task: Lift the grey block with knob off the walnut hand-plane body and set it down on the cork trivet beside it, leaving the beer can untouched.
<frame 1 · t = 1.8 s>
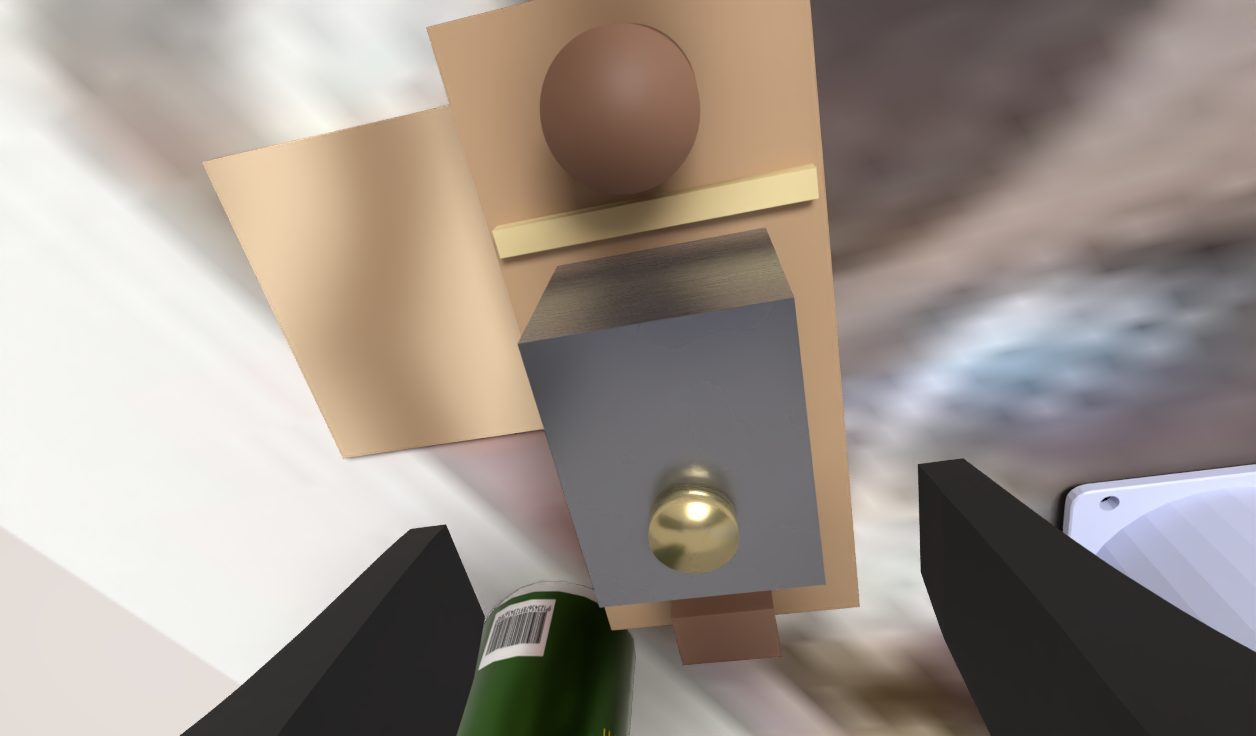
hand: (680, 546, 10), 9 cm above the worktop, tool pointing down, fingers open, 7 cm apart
beer can: (562, 626, 24), on the worktop
plane body: (683, 320, 18), on the worktop
cork trivet: (401, 299, 19), on the worktop
grey block with knob: (683, 371, 16), point 3 cm above the worktop, touching plane body
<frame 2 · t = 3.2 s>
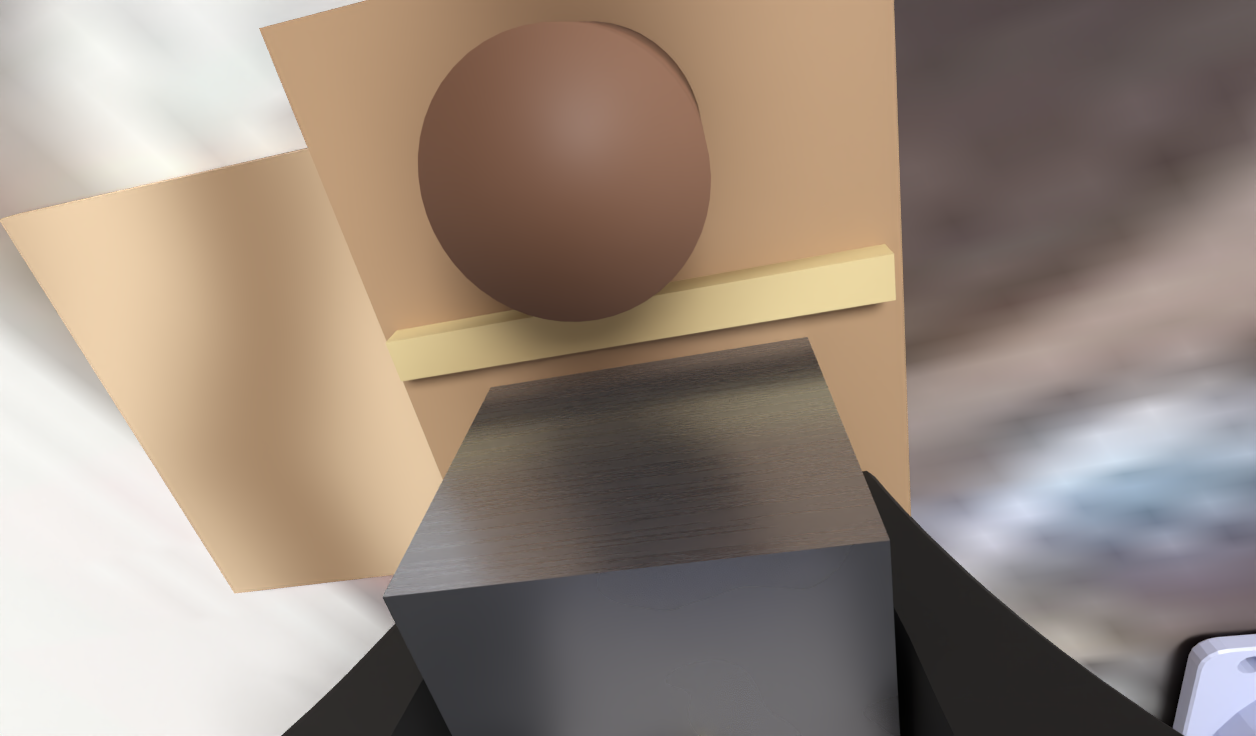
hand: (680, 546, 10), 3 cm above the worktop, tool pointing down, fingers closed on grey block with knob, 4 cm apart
plane body: (680, 428, 13), on the worktop
cork trivet: (296, 397, 14), on the worktop
grey block with knob: (680, 529, 11), point 3 cm above the worktop, touching gripper, plane body
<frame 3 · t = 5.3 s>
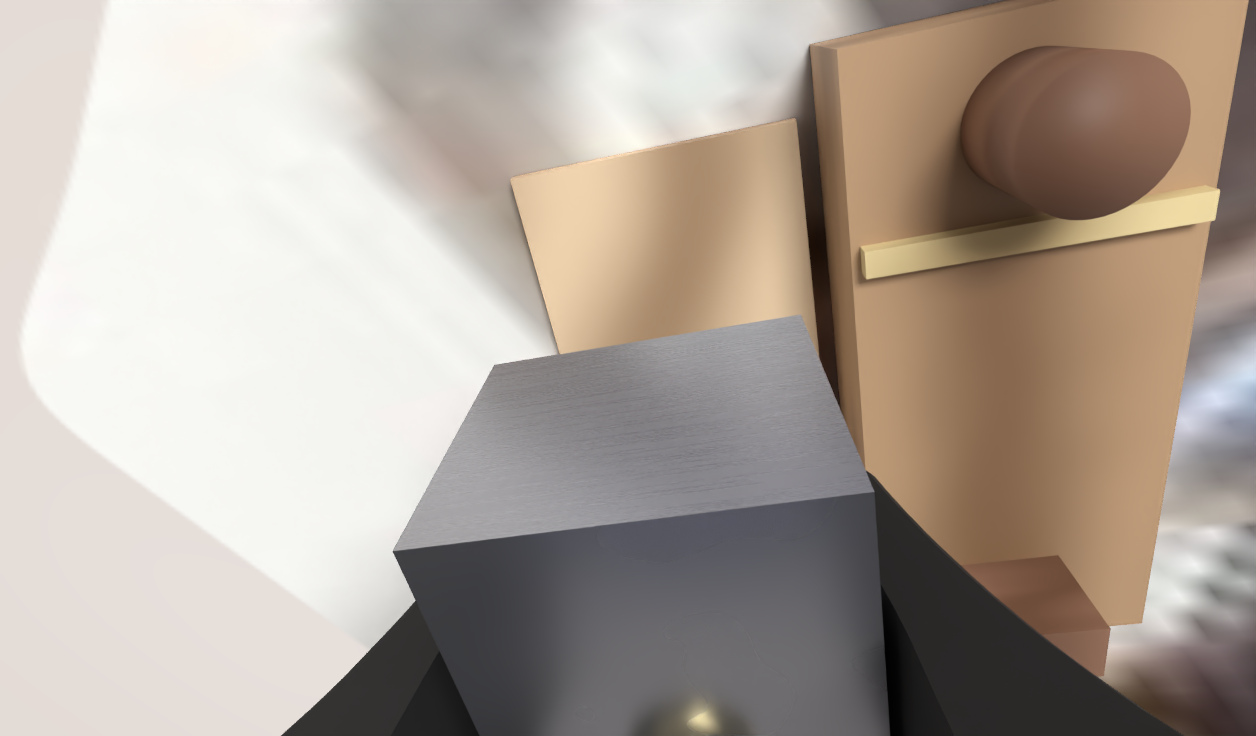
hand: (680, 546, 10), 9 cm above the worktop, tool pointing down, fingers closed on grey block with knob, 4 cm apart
plane body: (968, 336, 18), on the worktop
cork trivet: (681, 315, 19), on the worktop
grey block with knob: (678, 505, 11), point 8 cm above the worktop, touching gripper
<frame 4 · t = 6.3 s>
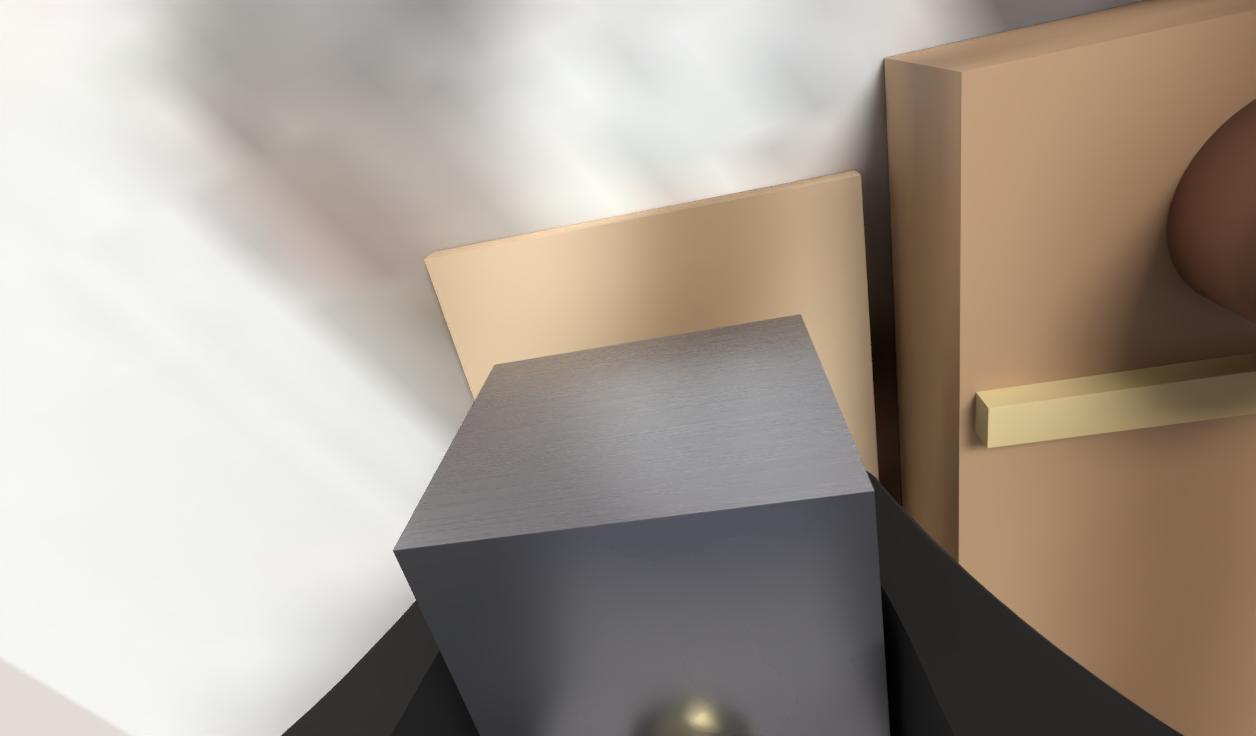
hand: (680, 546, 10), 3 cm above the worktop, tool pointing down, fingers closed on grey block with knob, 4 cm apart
plane body: (1096, 476, 13), on the worktop
cork trivet: (681, 443, 13), on the worktop
grey block with knob: (678, 505, 11), point 2 cm above the worktop, touching gripper
when the fingers open (3 cm above the worktop, at t = 7.2 s): grey block with knob drops 1 cm, resting on cork trivet.
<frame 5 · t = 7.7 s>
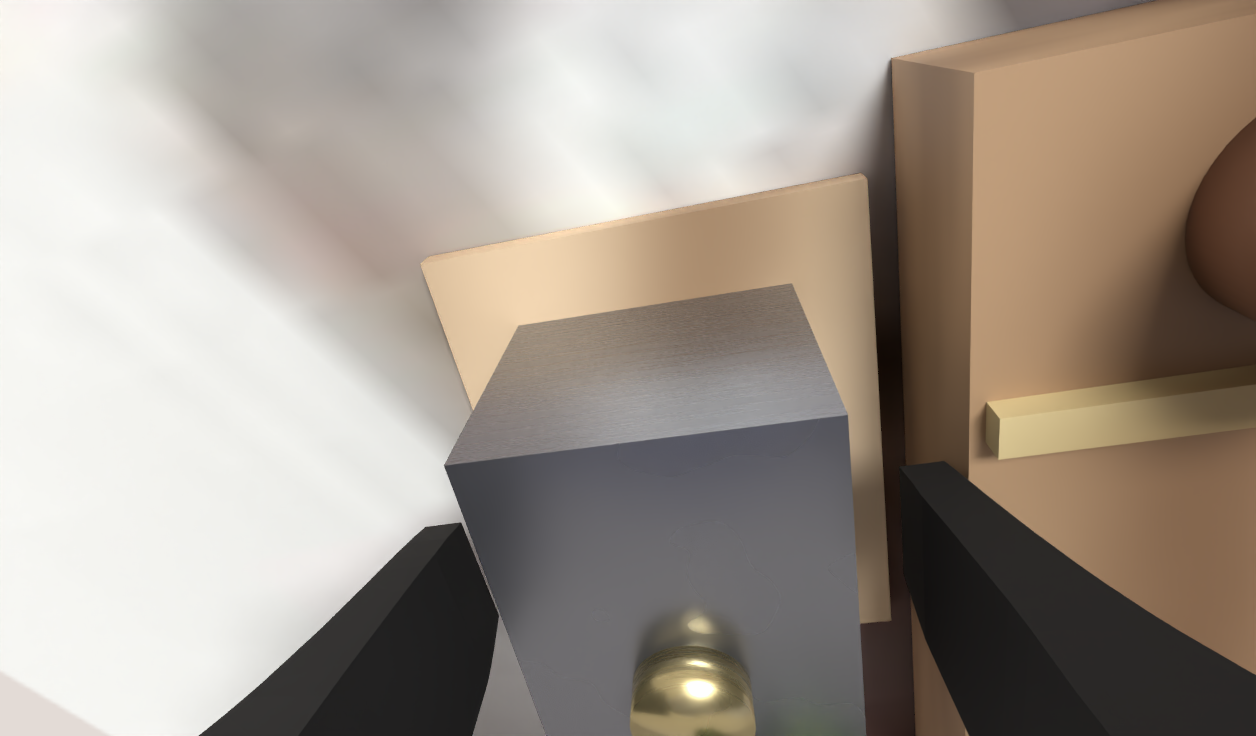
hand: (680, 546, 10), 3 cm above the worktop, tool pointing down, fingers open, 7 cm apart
plane body: (1106, 484, 12), on the worktop
cork trivet: (682, 450, 13), on the worktop
grey block with knob: (680, 457, 12), resting on cork trivet
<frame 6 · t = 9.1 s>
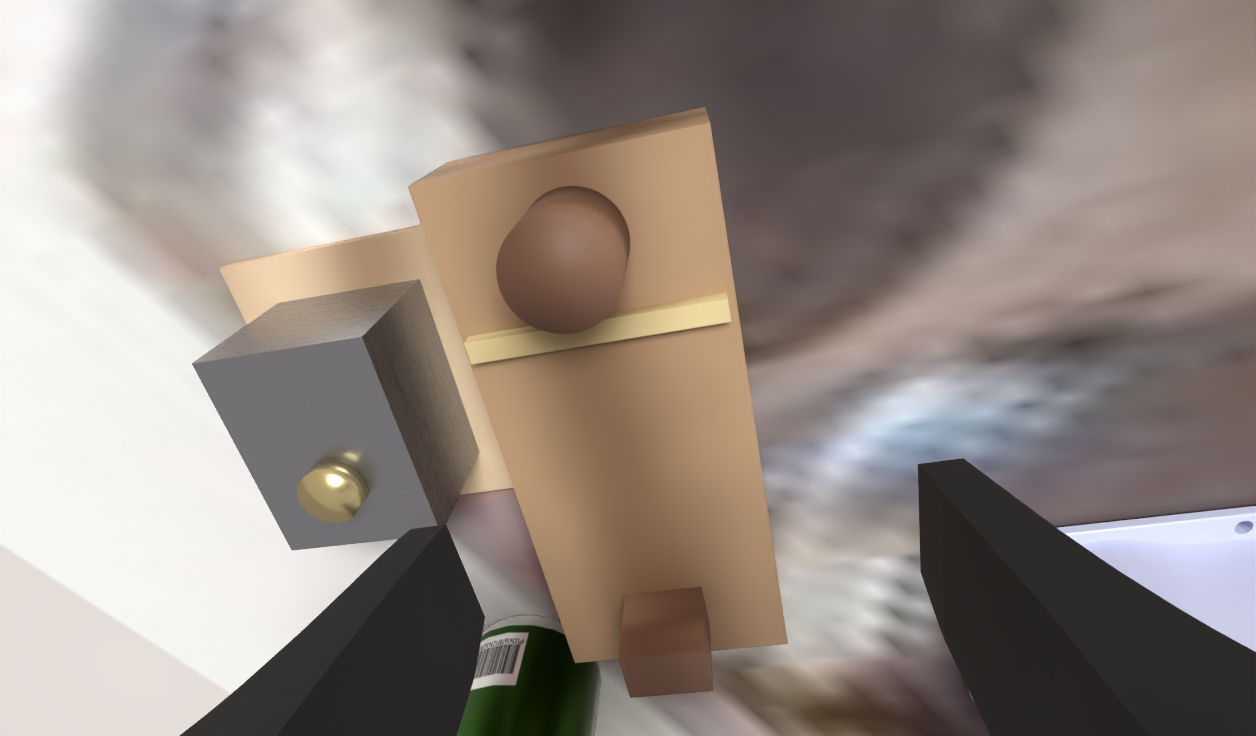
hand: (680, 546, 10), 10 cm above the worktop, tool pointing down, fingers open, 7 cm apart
beer can: (536, 653, 27), on the worktop
plane body: (634, 397, 21), on the worktop
cork trivet: (390, 378, 21), on the worktop
grey block with knob: (383, 380, 21), resting on cork trivet
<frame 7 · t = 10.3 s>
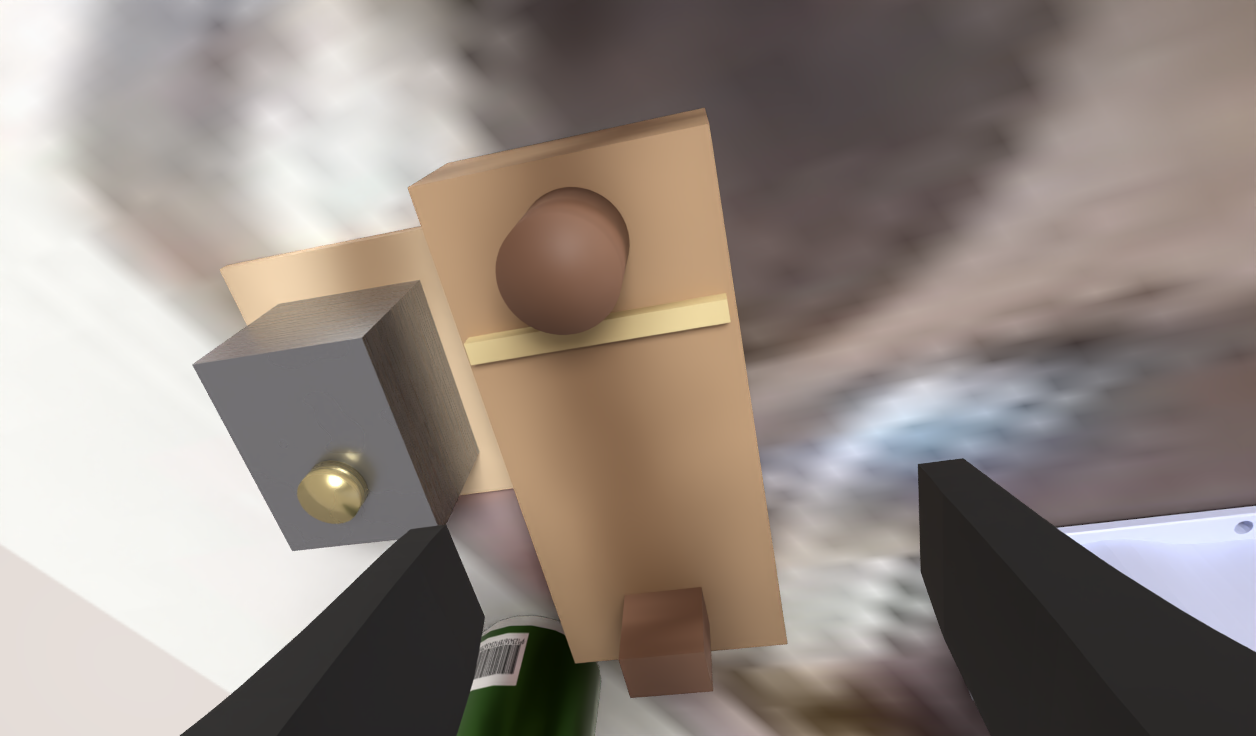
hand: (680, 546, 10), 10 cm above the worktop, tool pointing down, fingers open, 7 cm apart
beer can: (537, 654, 27), on the worktop
plane body: (634, 397, 21), on the worktop
cork trivet: (390, 378, 21), on the worktop
grey block with knob: (383, 381, 21), resting on cork trivet
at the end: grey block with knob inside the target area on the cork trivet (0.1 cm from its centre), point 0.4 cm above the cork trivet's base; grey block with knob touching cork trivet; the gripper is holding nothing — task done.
